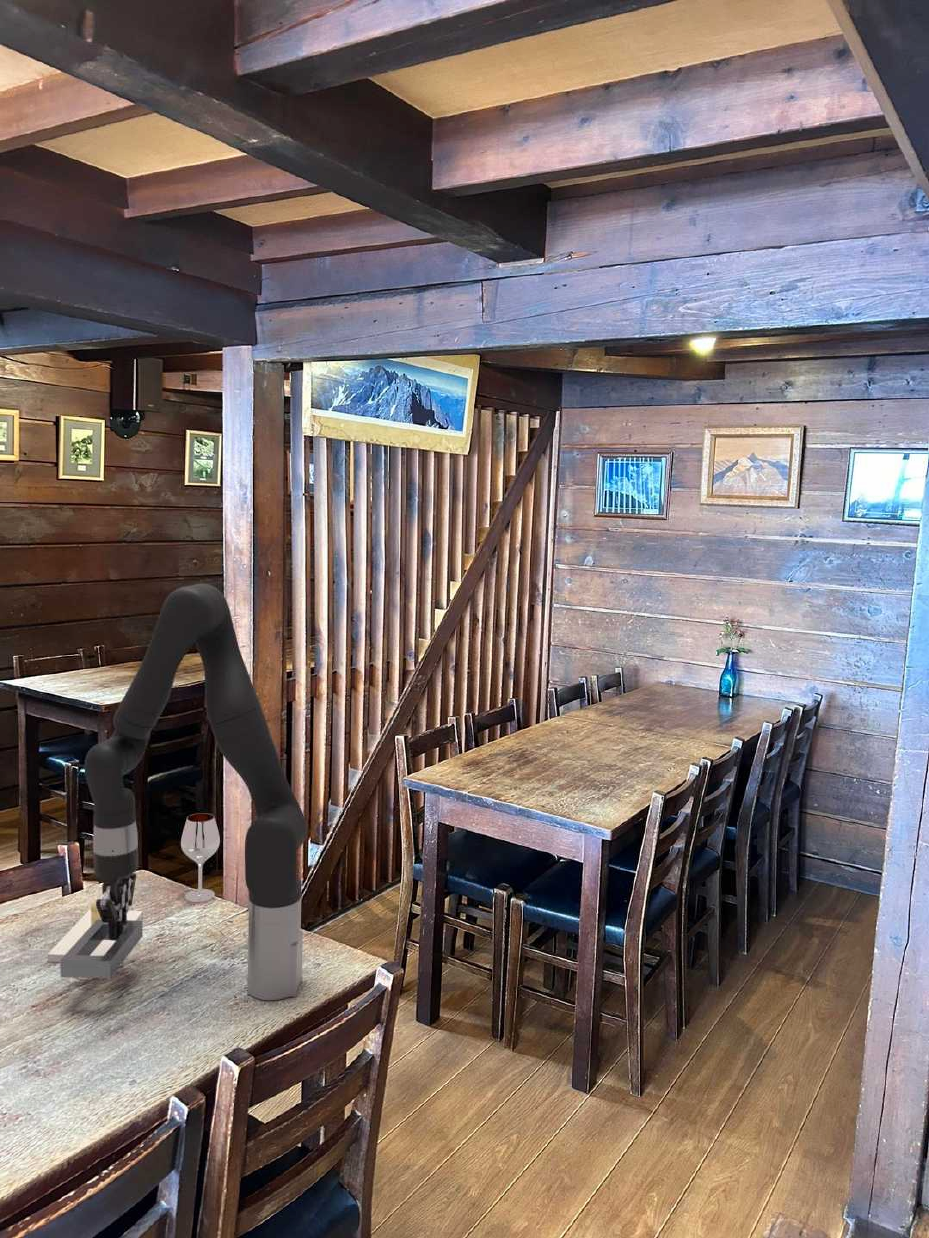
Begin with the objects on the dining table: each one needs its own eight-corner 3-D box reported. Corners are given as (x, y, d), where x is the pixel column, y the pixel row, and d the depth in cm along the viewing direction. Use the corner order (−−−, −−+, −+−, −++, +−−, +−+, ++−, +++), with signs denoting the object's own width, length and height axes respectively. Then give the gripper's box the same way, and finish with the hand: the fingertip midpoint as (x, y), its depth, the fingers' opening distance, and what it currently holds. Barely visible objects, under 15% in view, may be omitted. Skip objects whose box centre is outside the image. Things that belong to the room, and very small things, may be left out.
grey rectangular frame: (97, 934, 166) (96, 919, 165) (142, 935, 166) (142, 920, 165) (60, 976, 151) (60, 960, 150) (110, 978, 151) (109, 961, 150)
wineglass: (180, 889, 200) (181, 812, 198) (218, 886, 203) (219, 810, 201) (180, 905, 193) (181, 825, 190) (219, 902, 195) (220, 822, 193)
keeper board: (142, 917, 186) (142, 882, 185) (106, 964, 167) (106, 924, 166) (90, 915, 186) (89, 879, 185) (47, 961, 167) (47, 922, 166)
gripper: (121, 861, 156) (124, 955, 158) (149, 833, 169) (151, 919, 171) (78, 860, 156) (81, 954, 158) (110, 832, 169) (112, 919, 171)
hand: (118, 936), depth 165 cm, fingers closed on grey rectangular frame
